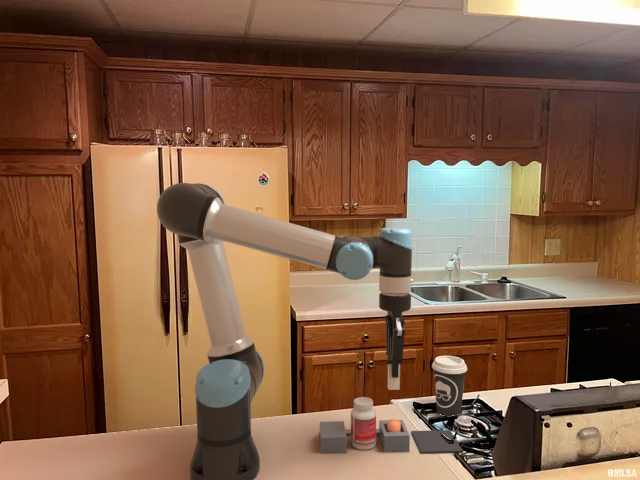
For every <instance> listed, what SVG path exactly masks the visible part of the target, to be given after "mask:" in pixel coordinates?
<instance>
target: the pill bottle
mask: <svg viewBox="0 0 640 480" xmlns="http://www.w3.org/2000/svg"><path fill="white" fill-rule="evenodd" d="M350 429H351V436H350V443H351V446H352V447H354V448H355V449H357V450H361V451H367V450H372V449H373V448H374V447H375V446H376V445H377V436H376V429H377V412H376V410H375V408H374V400H373V399H372V398H370V397H366V396H360V397H357V398H356V397H355V398H354V399H353V408H352V409H351V411H350Z"/></svg>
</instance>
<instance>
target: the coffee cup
mask: <svg viewBox="0 0 640 480" xmlns="http://www.w3.org/2000/svg"><path fill="white" fill-rule="evenodd" d="M434 358H435V359H434V361H433V362H432V364H431V368H432V369H433V376H434V377H433V378H434V391H435V405H436V413H437V414H438V415H439V414H441V415H445V416H452V415H457V414H460V413H461V414H462V405H463V395H464V390H465V389H464V388H465V378H466V372H467V371H468V366H467V363H465V360H464V359H463V358H461V357H458V356H453V355H439V356H436V357H434ZM461 414H460V415H461ZM441 415H440V416H441Z"/></svg>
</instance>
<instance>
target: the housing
mask: <svg viewBox="0 0 640 480" xmlns="http://www.w3.org/2000/svg"><path fill="white" fill-rule="evenodd" d="M388 420H389V419H388ZM388 420H387V419H383V420H382V419H380V420H378V428H376V437H377V436H379V440H380V442H381V445H382V450H383V452H384V453H405V452H407V453H409V452H410V446H411V445H410V442H411V441H410V439H411V436H410V434H409V431H408V430H407V426H406V424H405V422H404V420H403V419H398V420H399V421H400V422H401V429H400V432H387V421H388ZM348 437H351V428H349V429H346V428H345V422H344V420H343V421H342V420H340V421H337V420H335V421H334V420H333V421H331V420H330V421H319V439H320V440H319V442H320V443H319V444H320V453H321V454H322V455H326V454H327V455H328V454H329V455H333V454H334V455H335V454H347V451H348V449H347V447H348V446H347V445H348V444H347V439H348Z"/></svg>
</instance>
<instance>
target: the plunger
mask: <svg viewBox="0 0 640 480" xmlns="http://www.w3.org/2000/svg"><path fill="white" fill-rule="evenodd" d="M399 420H400V419H394V418H392V419H388V421H387V432H400V429H401V422H400V421H399Z"/></svg>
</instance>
